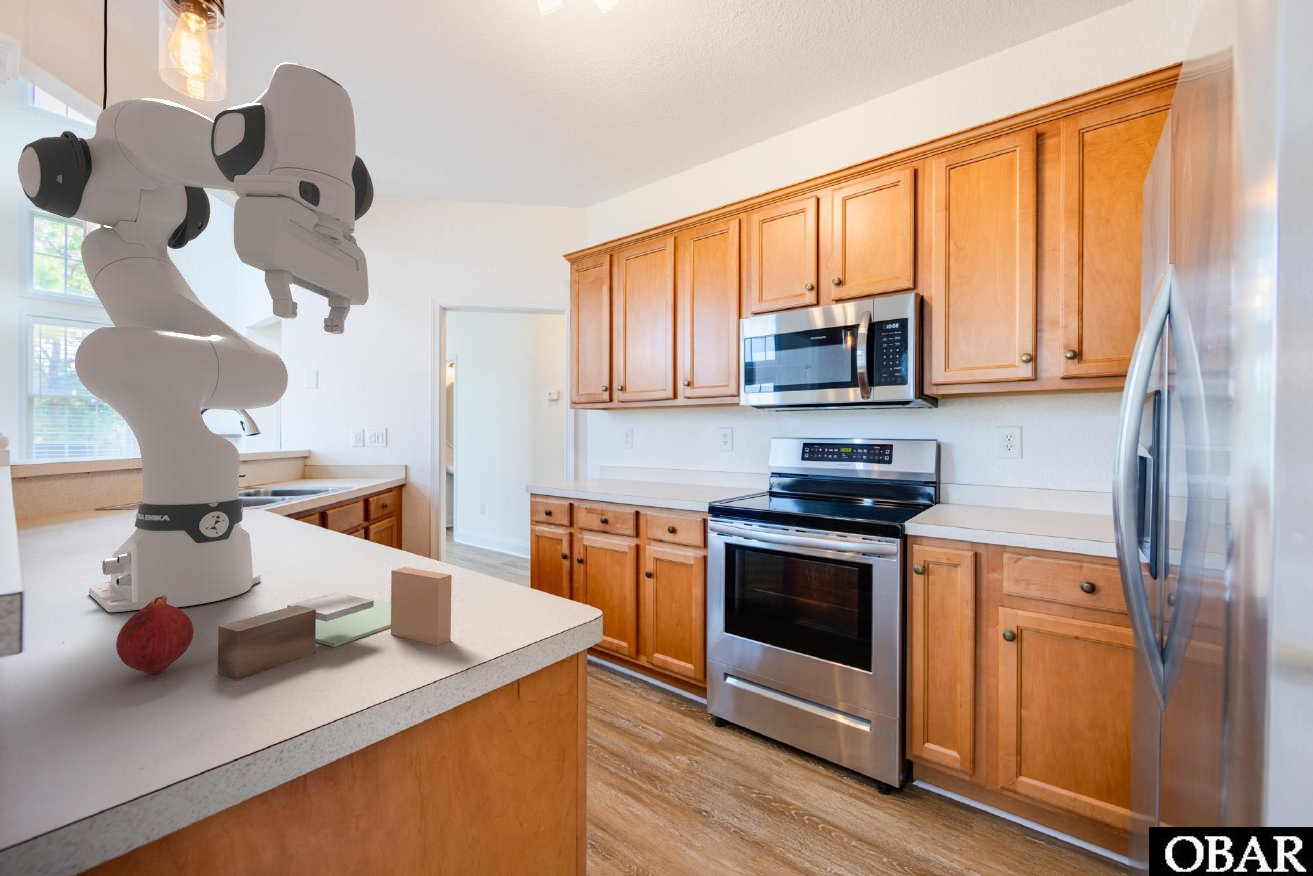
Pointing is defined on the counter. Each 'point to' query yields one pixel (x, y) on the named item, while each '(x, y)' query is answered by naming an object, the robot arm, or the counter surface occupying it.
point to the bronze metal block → (279, 634)
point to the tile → (421, 605)
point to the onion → (154, 637)
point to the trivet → (354, 624)
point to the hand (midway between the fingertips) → (311, 325)
